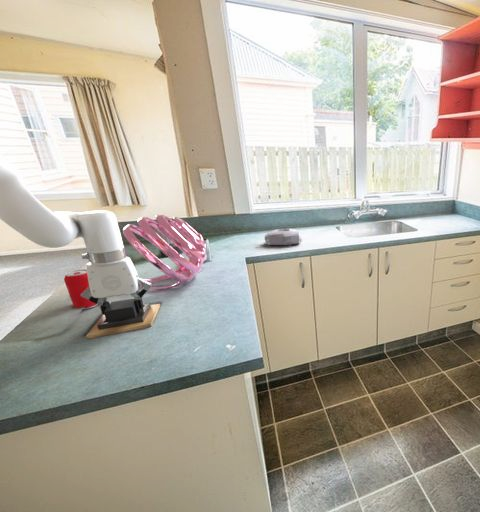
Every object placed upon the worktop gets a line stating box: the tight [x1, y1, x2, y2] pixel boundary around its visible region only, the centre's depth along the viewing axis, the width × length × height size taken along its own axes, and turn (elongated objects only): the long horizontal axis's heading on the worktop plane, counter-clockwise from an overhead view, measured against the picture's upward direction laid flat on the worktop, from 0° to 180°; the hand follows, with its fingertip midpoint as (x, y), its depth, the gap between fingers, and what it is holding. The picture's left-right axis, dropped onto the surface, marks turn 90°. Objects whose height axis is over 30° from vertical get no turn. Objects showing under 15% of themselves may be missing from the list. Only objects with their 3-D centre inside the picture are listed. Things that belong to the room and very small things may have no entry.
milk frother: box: [153, 227, 190, 258], centre depth 151 cm, size 14×16×15 cm
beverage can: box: [63, 269, 98, 311], centre depth 95 cm, size 6×6×12 cm
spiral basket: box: [122, 214, 207, 291], centre depth 111 cm, size 28×28×27 cm
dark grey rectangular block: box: [104, 298, 138, 322], centre depth 87 cm, size 6×6×4 cm
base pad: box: [86, 303, 161, 340], centre depth 88 cm, size 14×14×2 cm
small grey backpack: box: [263, 228, 301, 246], centre depth 171 cm, size 15×8×20 cm
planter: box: [198, 238, 213, 263], centre depth 139 cm, size 4×4×10 cm
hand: (124, 312), depth 87 cm, fingers closed on dark grey rectangular block, 6 cm apart
